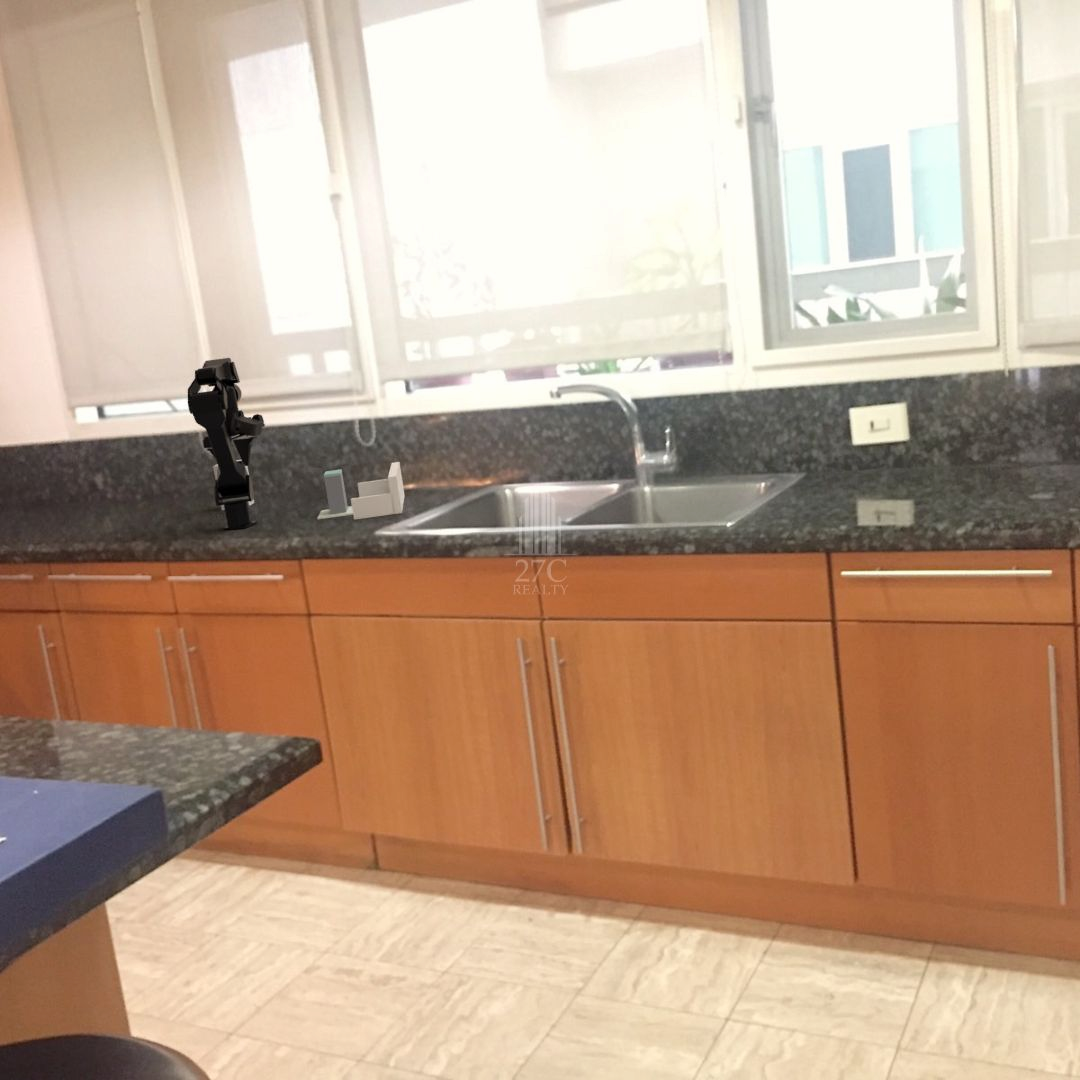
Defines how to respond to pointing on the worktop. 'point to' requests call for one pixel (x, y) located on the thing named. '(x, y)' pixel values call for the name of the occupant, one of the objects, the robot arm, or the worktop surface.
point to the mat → (326, 514)
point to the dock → (380, 496)
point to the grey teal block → (335, 491)
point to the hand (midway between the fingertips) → (237, 469)
